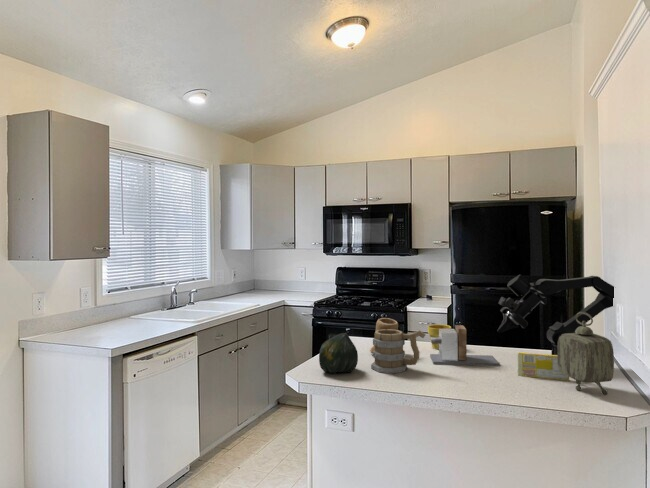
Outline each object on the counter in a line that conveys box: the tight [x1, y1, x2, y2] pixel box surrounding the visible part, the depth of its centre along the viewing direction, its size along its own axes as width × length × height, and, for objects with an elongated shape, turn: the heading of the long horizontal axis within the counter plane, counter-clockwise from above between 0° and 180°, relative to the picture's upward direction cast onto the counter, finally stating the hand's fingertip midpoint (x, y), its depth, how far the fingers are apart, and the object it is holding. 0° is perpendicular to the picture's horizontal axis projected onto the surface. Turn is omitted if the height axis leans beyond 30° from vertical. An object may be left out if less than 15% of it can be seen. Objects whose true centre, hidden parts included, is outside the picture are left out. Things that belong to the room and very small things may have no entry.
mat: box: [429, 353, 501, 367], centre depth 180 cm, size 25×12×1 cm, turn 82°
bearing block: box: [438, 328, 458, 361], centre depth 180 cm, size 6×9×11 cm, turn 172°
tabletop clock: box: [557, 311, 615, 396], centre depth 143 cm, size 14×9×25 cm, turn 12°
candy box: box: [517, 351, 570, 382], centre depth 157 cm, size 16×2×8 cm, turn 65°
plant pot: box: [427, 324, 452, 350], centre depth 202 cm, size 10×10×10 cm
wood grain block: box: [430, 324, 468, 360], centre depth 180 cm, size 13×8×12 cm, turn 82°
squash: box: [318, 332, 359, 374], centre depth 167 cm, size 14×15×15 cm
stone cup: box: [369, 317, 399, 354], centre depth 194 cm, size 15×12×15 cm
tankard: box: [370, 329, 426, 374], centre depth 169 cm, size 20×13×15 cm, turn 70°
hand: (498, 332), depth 178 cm, fingers closed
